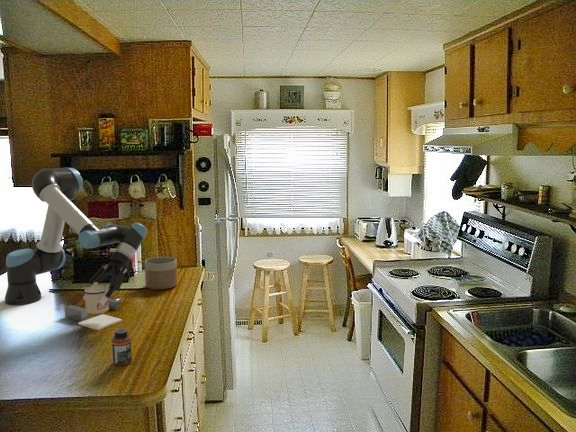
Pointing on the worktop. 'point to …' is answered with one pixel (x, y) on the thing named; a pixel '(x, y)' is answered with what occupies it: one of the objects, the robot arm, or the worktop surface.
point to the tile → (99, 322)
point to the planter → (161, 273)
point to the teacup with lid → (95, 299)
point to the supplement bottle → (121, 348)
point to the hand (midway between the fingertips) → (93, 301)
